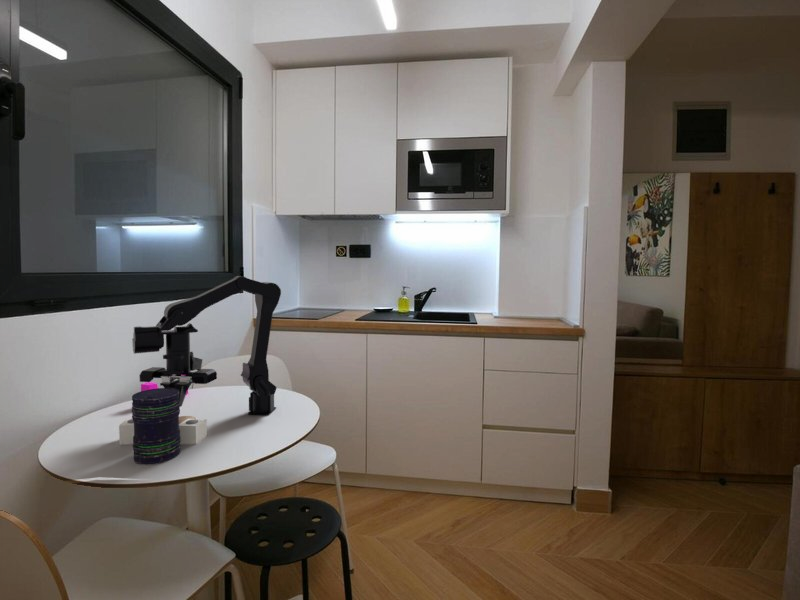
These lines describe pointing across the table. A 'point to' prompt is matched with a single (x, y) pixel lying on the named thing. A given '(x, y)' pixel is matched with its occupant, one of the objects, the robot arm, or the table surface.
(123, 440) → the marked cube
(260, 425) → the table surface
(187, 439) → the marked cube
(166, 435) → the storage jar
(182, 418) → the beige rounded disc
